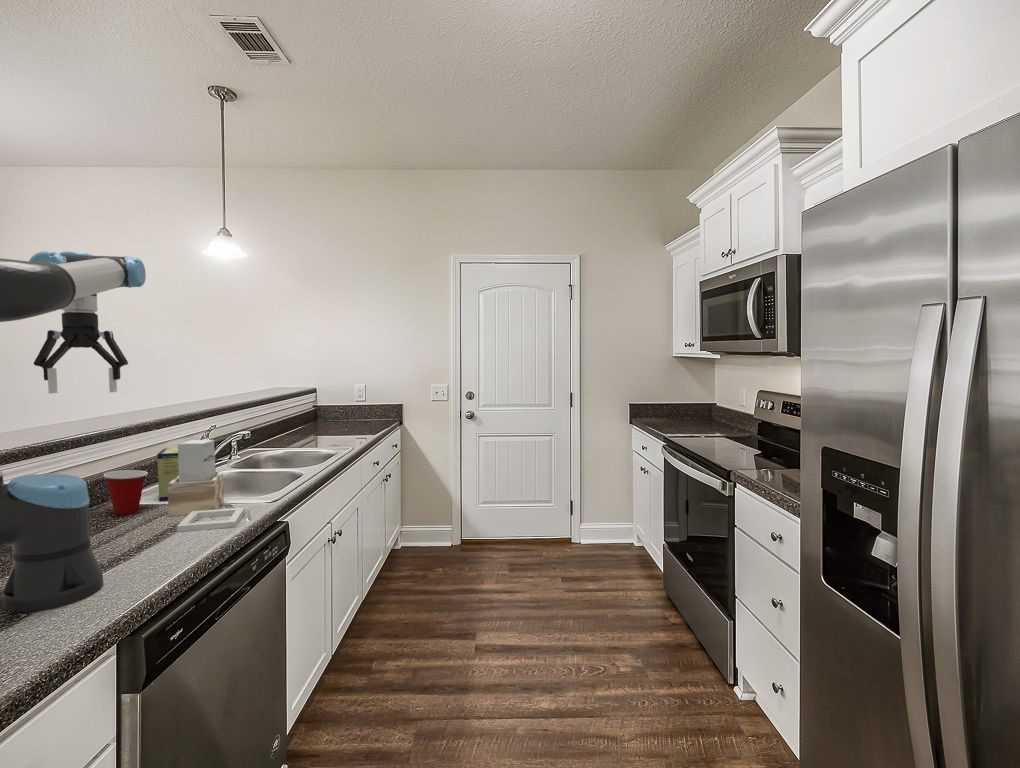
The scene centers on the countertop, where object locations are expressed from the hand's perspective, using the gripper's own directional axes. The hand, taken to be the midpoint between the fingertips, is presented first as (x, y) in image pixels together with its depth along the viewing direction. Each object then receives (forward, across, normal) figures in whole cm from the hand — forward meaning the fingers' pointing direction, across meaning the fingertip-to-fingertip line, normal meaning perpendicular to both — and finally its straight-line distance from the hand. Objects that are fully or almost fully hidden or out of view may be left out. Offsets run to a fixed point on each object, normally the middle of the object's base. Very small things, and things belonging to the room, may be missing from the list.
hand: (83, 392), depth 144 cm
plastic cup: (+37, -4, -14) cm, 40 cm away
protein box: (+37, -16, -30) cm, 50 cm away
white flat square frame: (+37, -30, +3) cm, 48 cm away
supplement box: (+29, -23, -12) cm, 39 cm away
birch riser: (+37, -23, -12) cm, 45 cm away
